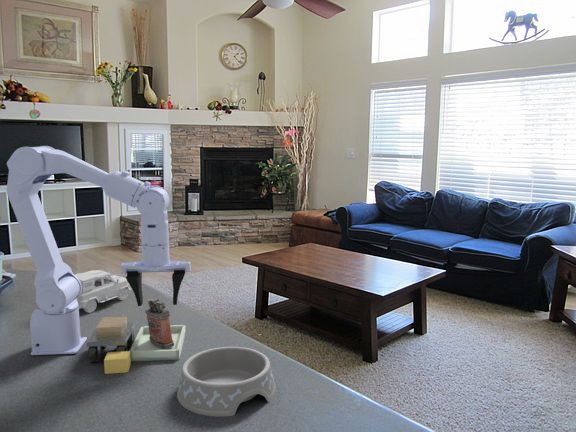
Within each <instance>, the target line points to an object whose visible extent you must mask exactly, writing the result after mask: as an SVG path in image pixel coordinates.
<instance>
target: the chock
mask: <svg viewBox="0 0 576 432" xmlns="http://www.w3.org/2000/svg"><path fill="white" fill-rule="evenodd" d="M131 362H132V361H131V357H130V350H129V351H123V352H116V351H109V352H108V351H107V353H106V355H105V357H104V359H103V365H104V368H103V369H104V374H106V375H107V374H119V373H120V374H121V373H122V374H124V373H129V370H130V367H131V364H132V363H131Z"/></svg>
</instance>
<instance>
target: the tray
mask: <svg viewBox="0 0 576 432" xmlns="http://www.w3.org/2000/svg"><path fill="white" fill-rule="evenodd" d="M170 327H171V334H172V340H173V341H174V346H173V347H171V348H167V349H163V348H160V347H157V346H155V345H153V344H152V343H151V342H150V339H149V337H150V333H149V326H148V325H146V326H145V325H144V326H141V327H140V329H139V331H138V333H137V335H136V337H135V338H134V343H133V345H132V346H130V349H129V351H130V357H131V362H147V361H150V362H151V361H152V362H153V361H169V360H171V361H172V360H173V361H174V360H175V361H176V360H180V358H181V356H182V355H181V354H182V351H183V346H184V343H185V338H186V334H187V332H186V330H187V329H186V324H178V325H177V324H176V325H175V324H173V325H171V324H170Z"/></svg>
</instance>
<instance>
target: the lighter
mask: <svg viewBox="0 0 576 432" xmlns="http://www.w3.org/2000/svg"><path fill="white" fill-rule="evenodd" d="M147 302H148V303H147V304H148V306H149V307H146V308H144V311H145V314H146V320H147V326H149V333H150V337H149V339H150V342H151V343H152V344H153V345H155V346H157V347H160V348H163V349H167V348H171V347H173V346H174V341H173V340H172V334H171V327H170V325H171V322H170V317H171V315H170V312H169V310H167V309H166V304H165V303H164V302H163V301H160V299H159V298H158V297H157V298H149V299H147Z"/></svg>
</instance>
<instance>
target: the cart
mask: <svg viewBox="0 0 576 432" xmlns="http://www.w3.org/2000/svg"><path fill="white" fill-rule="evenodd" d="M135 327H136V326H135V322H128V317H127V316H105V317H102V319H100V321H99V323H97V325H96V327H95V330H94V331H93V332H92V333H91V335H90V337H89V338H87V340H86V347H87V359H88V361H89V362H91V363H92V362H94V363H95V362H99V361H100V356H101V348H107V347H110V346H111V347H112V346H114V347H115V346H116V350H115V352H123V351H128V349H129V347H132V345H133V343H134V341H135V330H134V328H135Z"/></svg>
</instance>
